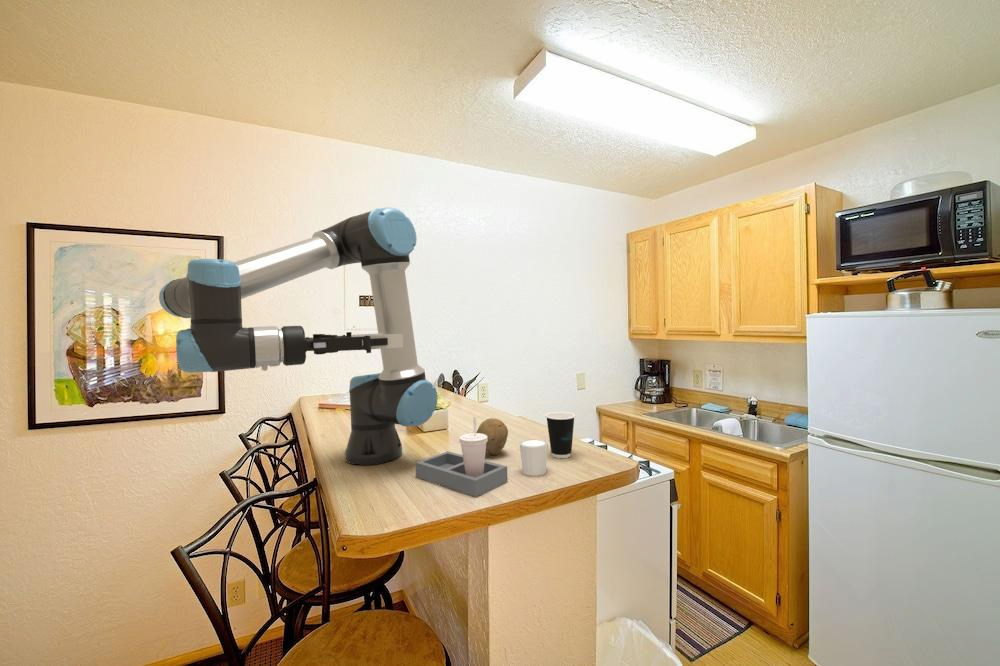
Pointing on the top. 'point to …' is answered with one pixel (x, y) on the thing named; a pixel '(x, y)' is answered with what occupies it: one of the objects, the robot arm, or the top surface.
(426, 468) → the divided tray
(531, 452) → the white rounded cylinder
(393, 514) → the top surface
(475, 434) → the smoothie
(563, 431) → the dixie cup
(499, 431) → the potato
